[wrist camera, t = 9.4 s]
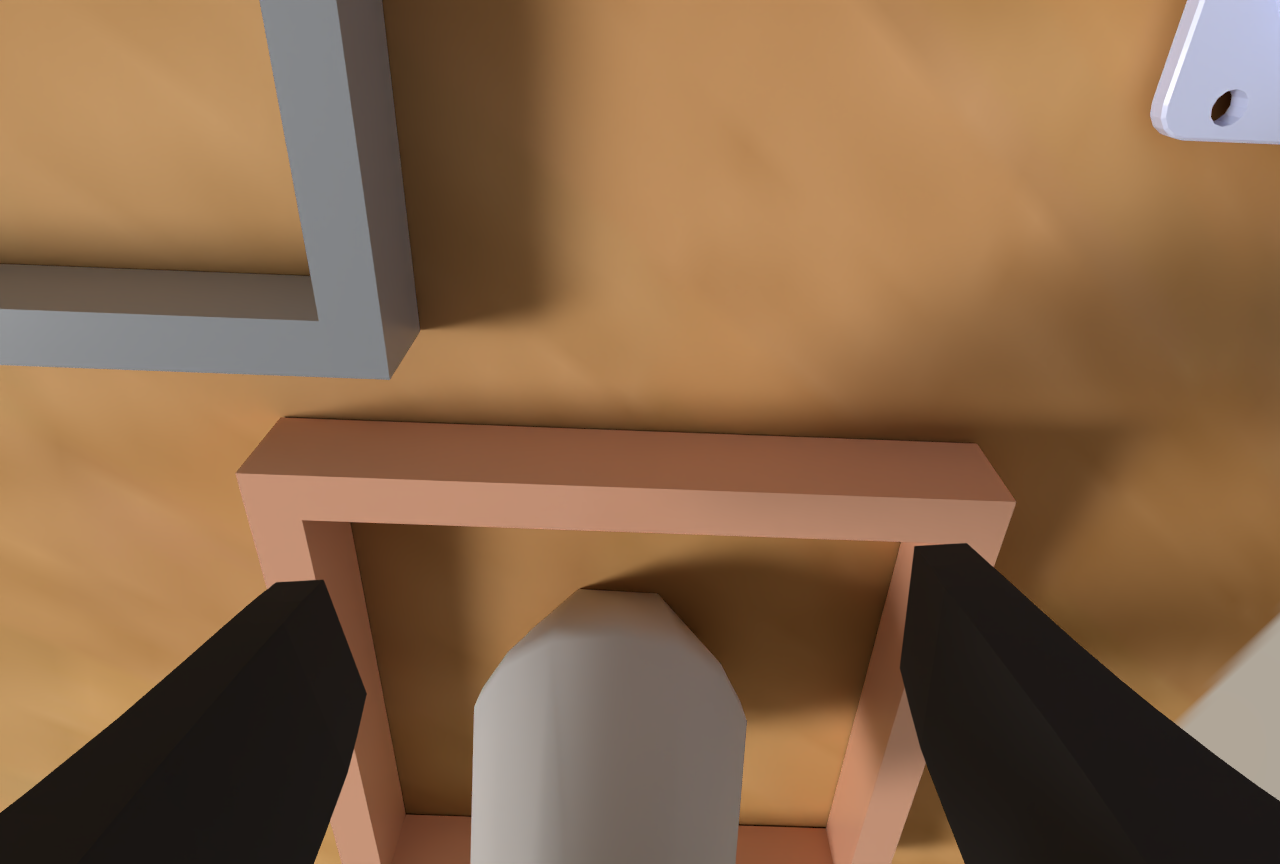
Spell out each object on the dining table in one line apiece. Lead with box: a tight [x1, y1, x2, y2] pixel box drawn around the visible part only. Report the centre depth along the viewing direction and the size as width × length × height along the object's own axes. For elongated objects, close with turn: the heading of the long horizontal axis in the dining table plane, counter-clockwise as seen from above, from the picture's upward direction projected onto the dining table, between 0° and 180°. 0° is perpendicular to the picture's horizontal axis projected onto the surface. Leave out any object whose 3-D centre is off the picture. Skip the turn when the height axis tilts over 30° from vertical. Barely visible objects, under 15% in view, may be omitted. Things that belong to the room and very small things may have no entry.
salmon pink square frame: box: [235, 418, 1016, 864], centre depth 19 cm, size 14×14×2 cm
